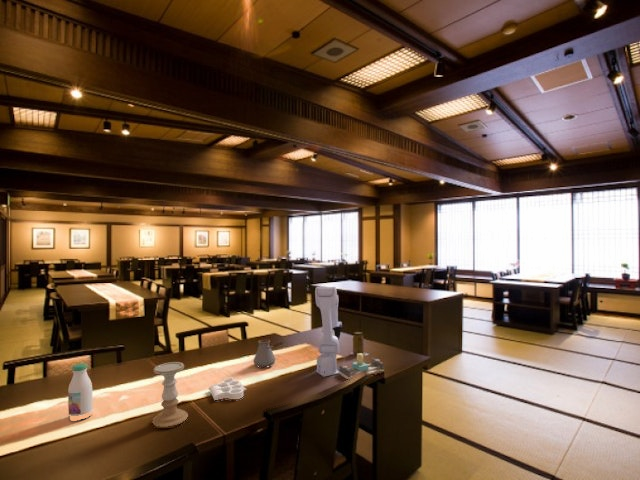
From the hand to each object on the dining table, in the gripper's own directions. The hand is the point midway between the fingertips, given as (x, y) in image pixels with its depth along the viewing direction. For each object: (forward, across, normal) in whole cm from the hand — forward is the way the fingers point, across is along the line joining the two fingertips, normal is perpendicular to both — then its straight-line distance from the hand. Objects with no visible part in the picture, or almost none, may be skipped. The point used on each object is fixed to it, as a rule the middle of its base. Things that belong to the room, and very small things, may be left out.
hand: (333, 341), depth 196 cm
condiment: (+11, +17, -6) cm, 21 cm away
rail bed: (+10, -7, -22) cm, 25 cm away
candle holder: (+11, -88, +10) cm, 89 cm away
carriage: (+8, -8, -22) cm, 24 cm away
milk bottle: (+11, -107, +41) cm, 115 cm away
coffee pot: (+11, -27, +20) cm, 35 cm away
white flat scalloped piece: (+11, -60, +13) cm, 62 cm away
